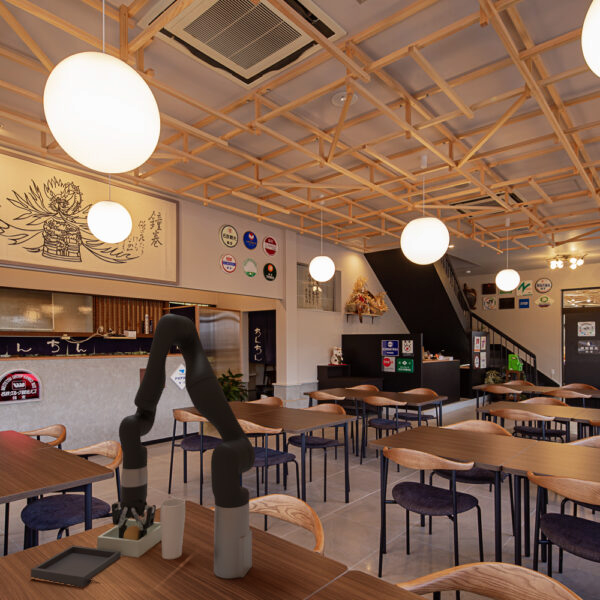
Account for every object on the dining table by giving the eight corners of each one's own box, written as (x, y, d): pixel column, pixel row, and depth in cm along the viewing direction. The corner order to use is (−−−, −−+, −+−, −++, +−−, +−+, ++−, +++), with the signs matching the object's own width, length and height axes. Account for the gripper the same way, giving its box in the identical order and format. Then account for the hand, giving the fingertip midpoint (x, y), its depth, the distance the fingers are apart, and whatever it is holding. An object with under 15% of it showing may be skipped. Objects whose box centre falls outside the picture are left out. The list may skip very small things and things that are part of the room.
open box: (165, 540, 134) (165, 523, 134) (138, 561, 121) (138, 542, 121) (127, 535, 137) (127, 518, 138) (96, 555, 124) (97, 536, 125)
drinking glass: (158, 565, 118) (160, 507, 120) (159, 554, 124) (161, 499, 126) (184, 562, 120) (185, 505, 121) (184, 551, 126) (185, 497, 128)
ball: (144, 541, 131) (145, 523, 131) (134, 548, 126) (135, 530, 126) (130, 539, 132) (131, 522, 133) (119, 546, 127) (120, 528, 128)
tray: (120, 561, 121) (120, 551, 121) (82, 588, 107) (83, 577, 108) (72, 554, 125) (72, 545, 125) (30, 579, 111) (31, 569, 112)
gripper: (162, 480, 133) (161, 538, 131) (122, 476, 136) (120, 533, 135) (147, 487, 125) (146, 549, 124) (105, 484, 129) (103, 543, 127)
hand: (132, 540), depth 129 cm, fingers open, 6 cm apart
